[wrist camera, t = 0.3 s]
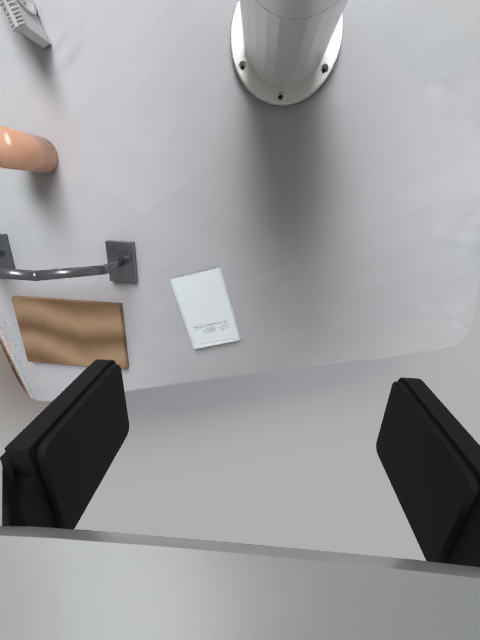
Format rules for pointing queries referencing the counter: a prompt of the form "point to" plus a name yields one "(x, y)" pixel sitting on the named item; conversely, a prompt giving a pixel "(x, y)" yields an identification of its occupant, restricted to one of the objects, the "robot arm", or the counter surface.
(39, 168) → the peach domed cylinder
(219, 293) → the external hard drive
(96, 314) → the walnut board
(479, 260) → the counter surface
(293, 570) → the robot arm
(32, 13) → the garden wall model
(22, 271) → the grey cabinet handle
